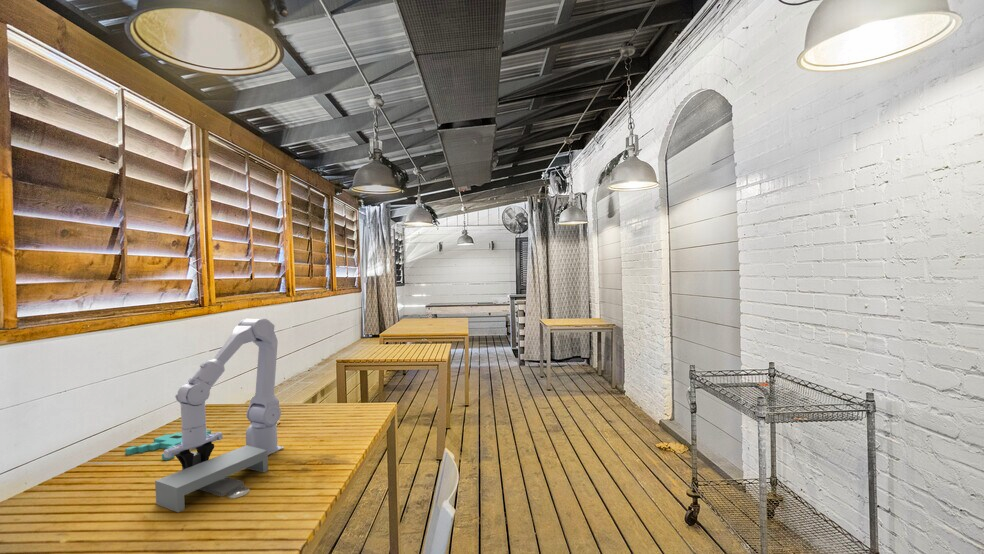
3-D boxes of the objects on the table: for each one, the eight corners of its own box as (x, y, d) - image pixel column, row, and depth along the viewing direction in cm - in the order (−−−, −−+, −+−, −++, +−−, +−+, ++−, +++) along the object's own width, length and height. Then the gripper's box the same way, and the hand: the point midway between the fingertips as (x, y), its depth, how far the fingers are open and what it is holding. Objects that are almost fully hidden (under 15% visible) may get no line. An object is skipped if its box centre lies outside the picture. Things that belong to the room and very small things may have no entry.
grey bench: (156, 504, 108) (155, 480, 108) (246, 464, 130) (245, 445, 130) (178, 512, 104) (177, 488, 104) (268, 470, 125) (267, 450, 125)
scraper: (176, 482, 120) (175, 457, 120) (199, 472, 125) (198, 449, 125) (221, 496, 111) (220, 470, 111) (243, 486, 116) (242, 460, 116)
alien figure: (166, 461, 136) (224, 438, 155) (166, 454, 136) (224, 432, 155) (125, 455, 142) (185, 433, 161) (125, 448, 142) (185, 427, 161)
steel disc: (223, 497, 111) (223, 493, 111) (242, 488, 115) (242, 485, 115) (233, 501, 109) (233, 498, 109) (253, 492, 113) (253, 489, 113)
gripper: (212, 416, 129) (213, 460, 129) (157, 432, 116) (159, 482, 116) (226, 418, 126) (228, 464, 126) (171, 436, 113) (173, 486, 113)
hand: (195, 473), depth 121 cm, fingers closed on scraper, 3 cm apart
